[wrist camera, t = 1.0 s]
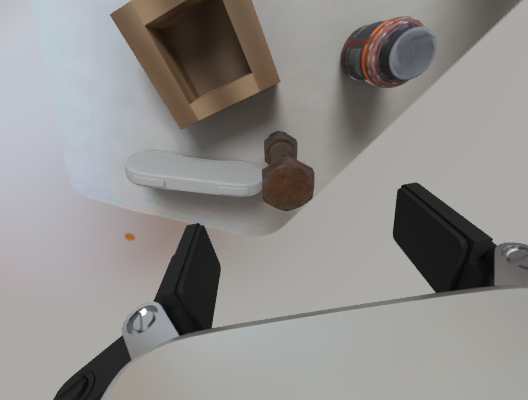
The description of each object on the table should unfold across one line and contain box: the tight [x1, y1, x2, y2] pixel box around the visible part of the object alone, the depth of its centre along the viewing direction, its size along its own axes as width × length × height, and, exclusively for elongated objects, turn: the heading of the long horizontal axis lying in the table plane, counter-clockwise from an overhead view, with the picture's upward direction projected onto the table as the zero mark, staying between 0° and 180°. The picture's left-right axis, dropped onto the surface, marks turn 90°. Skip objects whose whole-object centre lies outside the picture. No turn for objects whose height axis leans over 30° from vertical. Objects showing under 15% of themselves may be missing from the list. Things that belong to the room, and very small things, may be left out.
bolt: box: [262, 131, 314, 211], centre depth 29 cm, size 6×5×15 cm
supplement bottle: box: [341, 17, 436, 88], centre depth 25 cm, size 6×6×11 cm
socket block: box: [110, 0, 280, 129], centre depth 27 cm, size 13×12×6 cm
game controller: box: [125, 151, 262, 197], centre depth 34 cm, size 20×2×8 cm, turn 82°
